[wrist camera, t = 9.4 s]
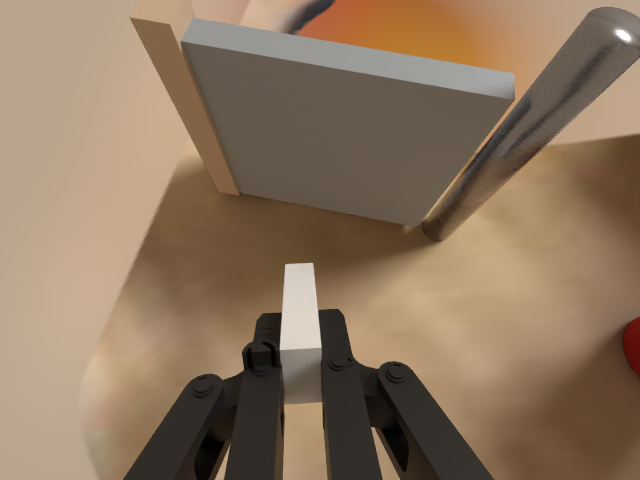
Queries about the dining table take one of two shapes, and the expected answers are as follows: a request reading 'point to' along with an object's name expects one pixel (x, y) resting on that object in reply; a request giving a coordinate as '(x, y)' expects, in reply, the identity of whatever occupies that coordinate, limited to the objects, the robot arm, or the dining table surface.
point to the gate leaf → (321, 114)
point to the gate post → (543, 112)
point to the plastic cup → (633, 344)
